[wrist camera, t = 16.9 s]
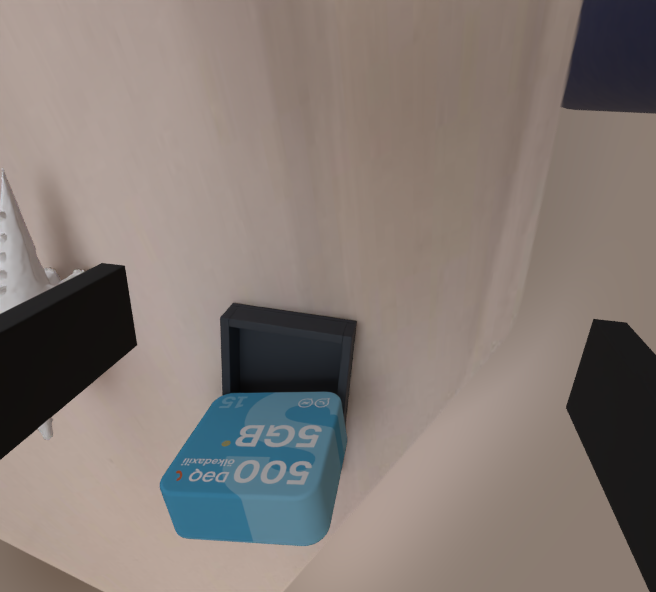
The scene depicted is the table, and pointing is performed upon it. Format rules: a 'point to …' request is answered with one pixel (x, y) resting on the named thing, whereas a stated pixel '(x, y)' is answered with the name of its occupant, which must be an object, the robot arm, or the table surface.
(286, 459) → the data package
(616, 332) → the robot arm
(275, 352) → the holder
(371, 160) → the table surface
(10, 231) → the dinosaur statue
